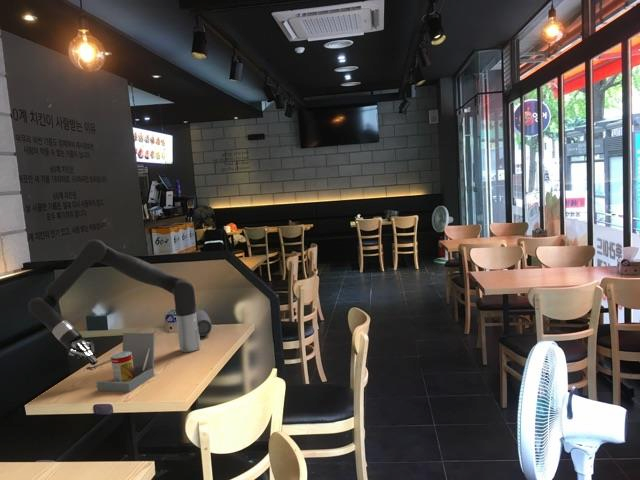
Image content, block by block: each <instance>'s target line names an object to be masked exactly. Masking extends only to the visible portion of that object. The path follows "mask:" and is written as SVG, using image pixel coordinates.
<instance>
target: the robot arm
mask: <svg viewBox="0 0 640 480" xmlns="http://www.w3.org/2000/svg"><path fill="white" fill-rule="evenodd" d="M96 263H99V264H102V265H105V266H108V267H110V268H112V269H114V270H117V272H119V273H121V274H123V275H125V276H127V277H129V278H131V279H133V280H135V281H137V282H140V283H143V284H146V285H150V286H154V287H158V288H160V289H162V290H164V291H166V292H168V293H171V294H172V295H173V299H174V307H175V308H174V309H175V310H174V311H175V318H176V319H175V320H176V328H177V336H178V343H179V351H181V353H183V352H184V353H188V352H189V353H191V352H195V351H197V350H201V347H202V346H201V345H202V343H201V337H200V336H201V335H199V327H198V325H197V317H196V311H197V309H196V306H197V303H196V295H195V288H194V285H193V284H192V283H191V282H190V281H189V280H187V279H186V278H183V277H179V276H177V275H172V274H170V273H168V272H165V271H164V270H162V269H161V268H159V267H157V266H155V265H153V264H152V263H150V262H147V261H145V260H143V259H141V258H138V257H137V256H136V257H135V256H133V255H129V254H126V253H123V252H119V251H117V250H115V249H113V248H111V247H109V246H108V245H106V244H105V243H104V242H103V241H102V240H100V239H90V240H88V241H87V242H86V243H85V244H84V245H83V248H82V250H81V251H80V253H79V254H78V255H77V257H76V258H75V259H74V261H72V263H70V264H69V266H67V267H66V268H65V269H64V270H63V271H62V272H61V273H60V274H59V275H58V276H56V278H55V279H54V280H53V281H51V283H50V284H49V285H48V286H47V287H46V289H45V292H46V293H45V294H44V295H43V296H42V297H37V296H36V297H34V298H32V299H31V300H29V302H28V305H27V306H28V311H29V312H30V313H31V314H32V316H34V317H35V318H36V319H38V320H39V321H40V322H41V323H42V324H43V325H45V327H46V328H47V329H48V330H49V331H50V332H51V333H52V335H54V337H55V338H56V339H57V340H58V341H59V342H60V343H61V344H62V345H63V346H64V347H65V348H66V349H68V350H69V352H68V354H67V355H68V357H71V358H74V359H76V360H79V361H83V360H85V361H87V362H88V363H89V364H90V365H92V366H95V365H97V363H98V359H97V358H96V356H95V355H94V353H95V345H94V342H93V340H91V341H87V340H86V339H84V338H83V335H82V334H81V333H80V332H79V330H77V329H76V328H75V326H74V325H72V323H70V322H69V321H68V320H67V319H66V318H64V317H63V316H62V314H60V313H59V312H57V311H55V308H56V306H57V304H59V302H60V300H61V298H62V297H63V296H64V295H65V294H66V293H68V291H69V290H70V289H71V288H72V286H74V285H75V283H76V282H77V281H78V280H79V279H80V278H81V276H82V275H83V274H84V273H85V272H86V271H87V270H88V269H89V268H91V267H92V266H93V265H95V264H96Z"/></svg>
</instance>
